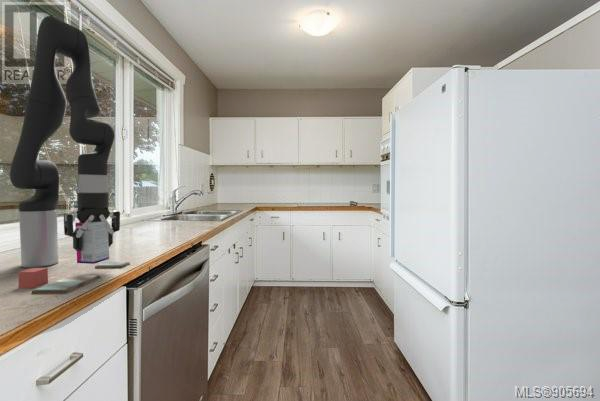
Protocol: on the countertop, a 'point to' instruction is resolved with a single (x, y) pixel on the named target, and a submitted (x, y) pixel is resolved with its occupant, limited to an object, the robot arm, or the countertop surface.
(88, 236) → the supplement box
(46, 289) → the track
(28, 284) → the cube
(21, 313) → the countertop surface
